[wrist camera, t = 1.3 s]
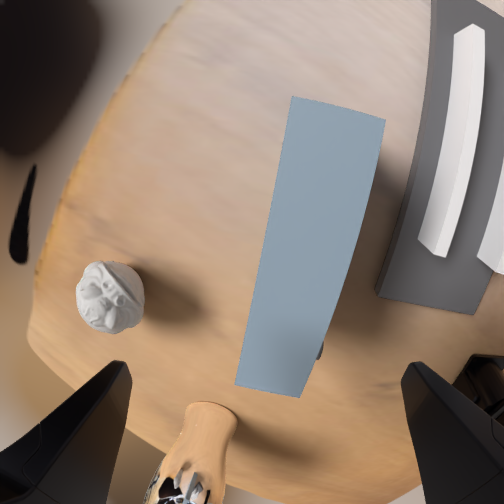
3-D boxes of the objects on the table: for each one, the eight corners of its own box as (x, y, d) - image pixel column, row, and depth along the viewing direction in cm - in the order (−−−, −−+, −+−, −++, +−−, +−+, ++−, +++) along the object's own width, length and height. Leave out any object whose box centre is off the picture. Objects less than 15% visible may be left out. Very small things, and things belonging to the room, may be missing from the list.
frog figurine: (178, 284, 24) (141, 332, 18) (132, 320, 27) (95, 365, 20) (131, 228, 23) (80, 260, 17) (91, 272, 26) (44, 307, 19)
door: (354, 131, 18) (400, 124, 10) (309, 309, 24) (310, 399, 15) (294, 117, 19) (292, 96, 10) (257, 299, 24) (234, 384, 15)
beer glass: (253, 417, 29) (226, 539, 15) (224, 440, 32) (195, 543, 18) (196, 389, 29) (146, 511, 15) (174, 416, 31) (129, 517, 18)
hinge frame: (522, 39, 12) (548, 30, 8) (467, 308, 21) (488, 334, 17) (430, -15, 12) (450, -36, 9) (374, 289, 22) (387, 318, 18)
